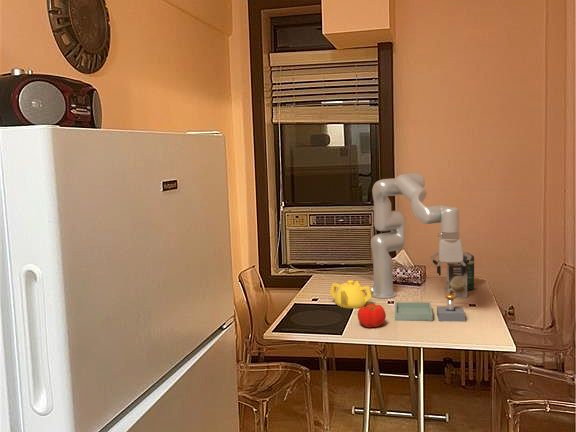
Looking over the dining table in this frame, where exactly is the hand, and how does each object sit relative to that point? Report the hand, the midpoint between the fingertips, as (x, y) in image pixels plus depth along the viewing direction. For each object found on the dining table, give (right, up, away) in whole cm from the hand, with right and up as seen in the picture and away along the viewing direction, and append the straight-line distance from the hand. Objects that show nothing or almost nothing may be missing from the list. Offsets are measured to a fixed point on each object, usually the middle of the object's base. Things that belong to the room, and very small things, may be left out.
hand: (451, 274), depth 263 cm
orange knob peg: (+1, -19, +3) cm, 19 cm away
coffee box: (+13, -14, +38) cm, 42 cm away
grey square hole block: (+1, -19, +3) cm, 19 cm away
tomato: (-35, -21, -4) cm, 41 cm away
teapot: (-40, -18, +29) cm, 53 cm away
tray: (-14, -19, +10) cm, 25 cm away
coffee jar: (+22, -12, +52) cm, 58 cm away
